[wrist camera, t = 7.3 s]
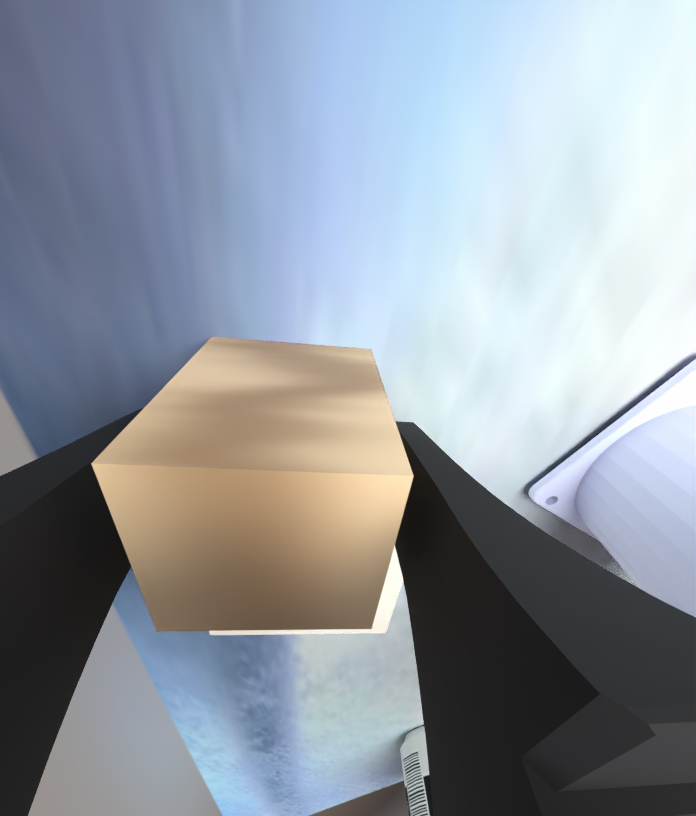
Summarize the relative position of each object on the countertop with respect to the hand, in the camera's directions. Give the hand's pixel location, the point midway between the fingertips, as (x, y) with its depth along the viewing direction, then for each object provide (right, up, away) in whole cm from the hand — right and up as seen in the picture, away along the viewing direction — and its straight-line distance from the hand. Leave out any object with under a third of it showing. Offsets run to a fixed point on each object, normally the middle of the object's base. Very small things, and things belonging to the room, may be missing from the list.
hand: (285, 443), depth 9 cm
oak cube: (0, +1, +2) cm, 2 cm away
